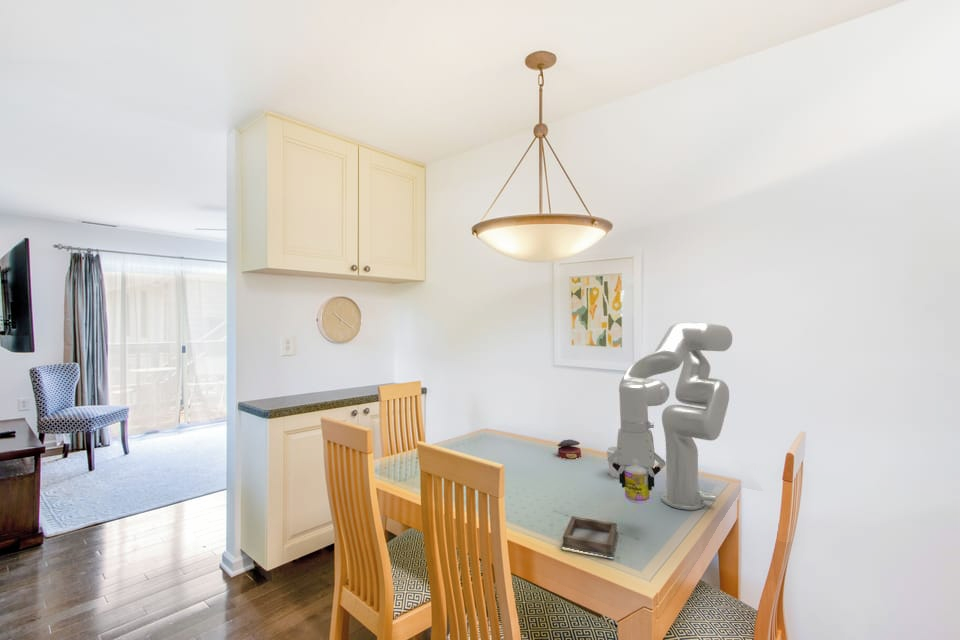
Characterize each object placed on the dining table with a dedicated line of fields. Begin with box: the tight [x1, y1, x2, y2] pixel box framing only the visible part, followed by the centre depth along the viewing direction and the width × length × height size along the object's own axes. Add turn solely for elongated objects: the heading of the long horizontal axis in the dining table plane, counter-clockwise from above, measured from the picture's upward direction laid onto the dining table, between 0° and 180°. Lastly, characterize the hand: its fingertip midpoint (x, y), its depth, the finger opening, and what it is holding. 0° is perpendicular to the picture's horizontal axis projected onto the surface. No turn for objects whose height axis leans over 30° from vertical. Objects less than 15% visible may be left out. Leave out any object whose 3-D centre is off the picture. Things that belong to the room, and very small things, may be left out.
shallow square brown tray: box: [561, 515, 619, 558], centre depth 118 cm, size 13×13×4 cm
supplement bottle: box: [624, 459, 650, 505], centre depth 125 cm, size 7×7×13 cm
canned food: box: [556, 439, 582, 460], centre depth 191 cm, size 11×10×10 cm
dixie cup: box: [605, 445, 620, 479], centre depth 167 cm, size 8×8×10 cm
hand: (636, 486), depth 125 cm, fingers closed on supplement bottle, 6 cm apart
